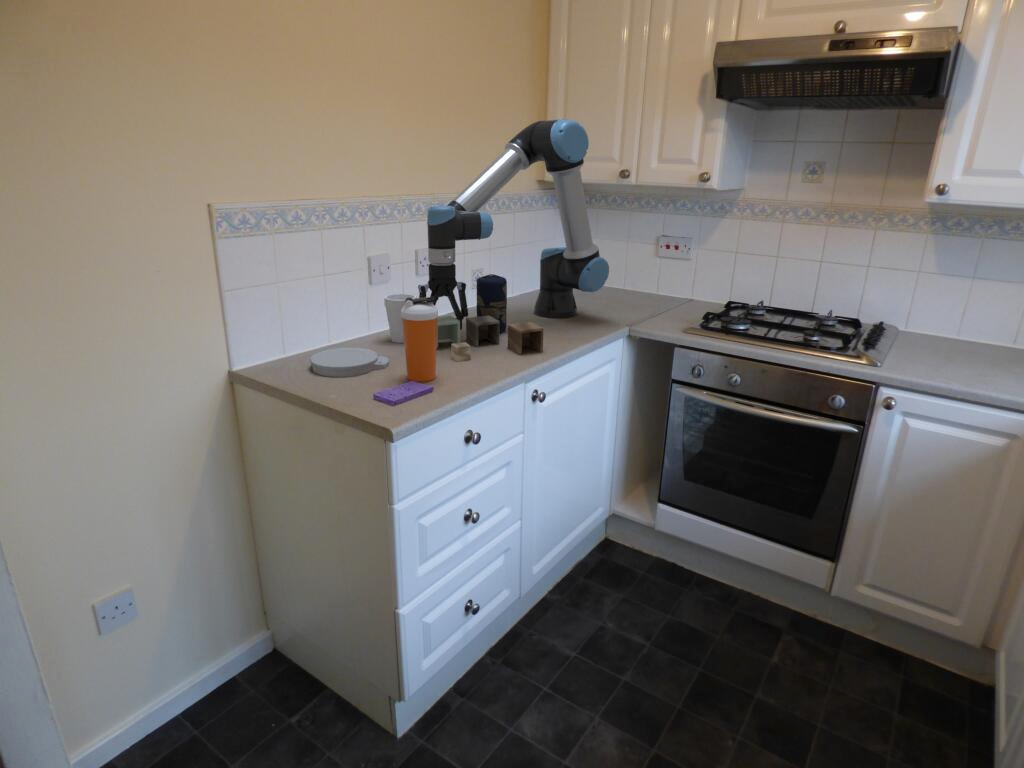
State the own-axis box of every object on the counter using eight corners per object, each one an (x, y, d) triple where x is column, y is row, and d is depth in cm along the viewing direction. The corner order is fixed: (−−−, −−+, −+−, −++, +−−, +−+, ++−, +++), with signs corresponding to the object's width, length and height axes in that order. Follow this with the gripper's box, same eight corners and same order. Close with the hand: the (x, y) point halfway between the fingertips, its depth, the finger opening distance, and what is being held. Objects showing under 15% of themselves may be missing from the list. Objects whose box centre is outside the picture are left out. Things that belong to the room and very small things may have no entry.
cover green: (450, 338, 193) (450, 315, 190) (460, 344, 186) (459, 321, 184) (426, 341, 190) (426, 317, 187) (435, 347, 183) (435, 323, 181)
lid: (392, 374, 164) (391, 363, 163) (310, 380, 159) (309, 369, 158) (386, 355, 180) (386, 345, 179) (311, 360, 175) (310, 349, 174)
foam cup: (408, 345, 188) (406, 301, 184) (380, 342, 191) (378, 298, 187) (423, 337, 196) (422, 295, 192) (396, 334, 199) (394, 292, 195)
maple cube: (465, 356, 180) (464, 342, 178) (470, 360, 176) (470, 345, 175) (451, 357, 178) (451, 343, 177) (456, 361, 175) (456, 347, 173)
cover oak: (488, 337, 197) (488, 315, 195) (499, 344, 191) (499, 321, 189) (466, 340, 194) (466, 317, 192) (476, 347, 188) (476, 323, 185)
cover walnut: (530, 345, 191) (531, 322, 188) (542, 351, 184) (543, 328, 182) (507, 347, 187) (507, 324, 185) (519, 354, 181) (519, 330, 179)
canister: (502, 335, 200) (503, 277, 194) (473, 333, 202) (472, 276, 196) (509, 328, 209) (510, 272, 203) (480, 326, 211) (480, 271, 204)
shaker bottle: (442, 381, 159) (440, 301, 152) (406, 384, 157) (402, 303, 150) (436, 370, 167) (434, 294, 160) (401, 373, 165) (398, 295, 158)
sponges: (373, 401, 147) (372, 393, 147) (413, 386, 157) (412, 379, 156) (394, 408, 143) (393, 400, 143) (434, 393, 153) (433, 385, 152)
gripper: (411, 267, 173) (413, 349, 180) (480, 263, 181) (480, 341, 189) (402, 263, 179) (405, 342, 187) (470, 259, 188) (470, 335, 195)
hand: (443, 342), depth 188 cm, fingers closed on cover green, 7 cm apart
